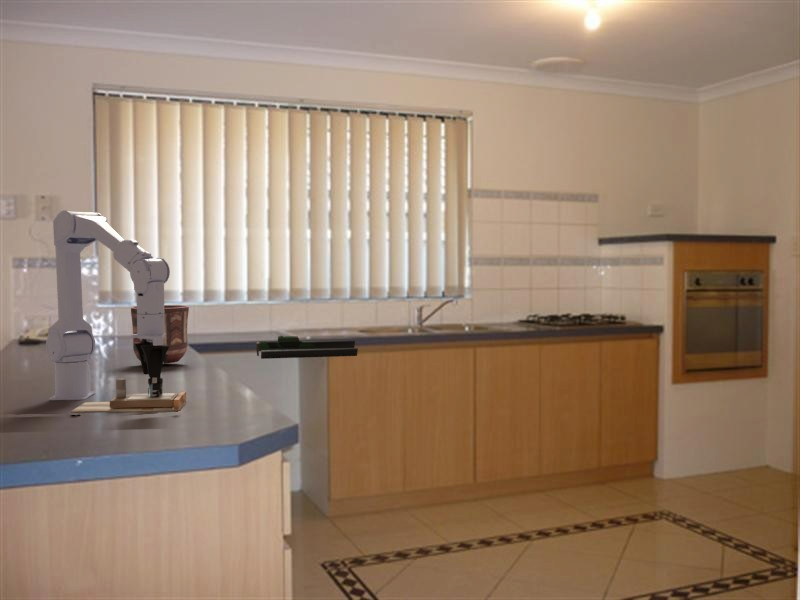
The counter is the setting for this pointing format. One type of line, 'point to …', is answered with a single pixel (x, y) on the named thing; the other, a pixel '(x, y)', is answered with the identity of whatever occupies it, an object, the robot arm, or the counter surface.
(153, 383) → the push button
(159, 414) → the counter surface
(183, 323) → the pottery
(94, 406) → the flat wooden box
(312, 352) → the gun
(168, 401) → the carriage
